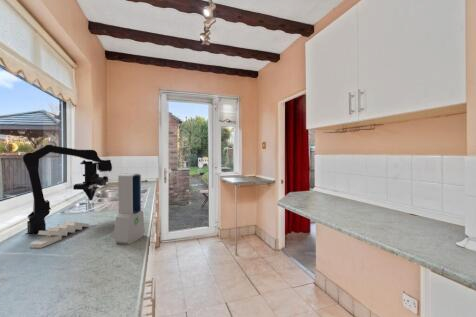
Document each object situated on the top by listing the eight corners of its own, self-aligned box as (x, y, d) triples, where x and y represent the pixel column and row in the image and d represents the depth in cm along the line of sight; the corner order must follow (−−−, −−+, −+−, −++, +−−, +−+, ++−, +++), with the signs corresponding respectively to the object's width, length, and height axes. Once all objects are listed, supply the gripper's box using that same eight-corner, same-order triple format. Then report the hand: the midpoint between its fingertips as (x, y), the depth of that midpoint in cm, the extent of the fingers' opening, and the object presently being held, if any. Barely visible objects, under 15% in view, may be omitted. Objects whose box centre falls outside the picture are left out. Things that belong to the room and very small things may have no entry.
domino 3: (65, 232, 114) (47, 231, 105) (66, 229, 115) (49, 227, 105) (74, 232, 114) (58, 231, 104) (75, 229, 114) (59, 227, 105)
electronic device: (127, 245, 100) (127, 174, 99) (112, 243, 101) (111, 174, 101) (145, 235, 112) (144, 172, 111) (131, 234, 113) (130, 172, 113)
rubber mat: (36, 242, 103) (36, 241, 103) (77, 225, 127) (77, 224, 127) (61, 243, 102) (61, 241, 102) (98, 226, 126) (98, 225, 126)
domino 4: (72, 229, 119) (56, 228, 109) (73, 226, 119) (57, 224, 110) (81, 229, 118) (66, 228, 109) (82, 226, 119) (67, 224, 109)
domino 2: (51, 238, 106) (29, 247, 96) (51, 235, 106) (29, 243, 96) (61, 239, 105) (41, 247, 95) (61, 235, 105) (41, 244, 95)
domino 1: (56, 235, 110) (37, 234, 100) (57, 231, 110) (39, 230, 101) (66, 235, 109) (48, 234, 100) (67, 232, 110) (49, 230, 100)
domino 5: (79, 226, 123) (64, 225, 114) (79, 223, 124) (65, 221, 114) (88, 226, 123) (74, 225, 113) (88, 223, 123) (75, 222, 114)
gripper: (92, 173, 121) (92, 203, 121) (114, 171, 140) (114, 197, 140) (72, 173, 122) (72, 203, 122) (96, 171, 140) (97, 196, 141)
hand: (91, 200), depth 131 cm, fingers closed
